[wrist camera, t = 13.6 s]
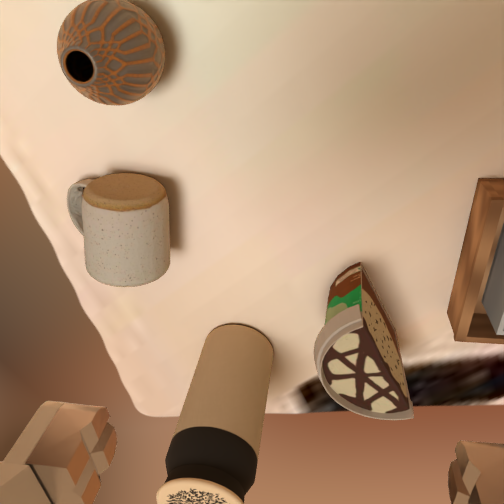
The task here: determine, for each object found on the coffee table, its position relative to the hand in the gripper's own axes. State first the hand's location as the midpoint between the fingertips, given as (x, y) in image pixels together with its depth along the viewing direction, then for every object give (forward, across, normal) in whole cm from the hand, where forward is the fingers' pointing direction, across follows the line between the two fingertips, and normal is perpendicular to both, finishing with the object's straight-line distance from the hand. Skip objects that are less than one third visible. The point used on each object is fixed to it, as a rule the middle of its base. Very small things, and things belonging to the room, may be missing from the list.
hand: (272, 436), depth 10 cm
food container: (+29, -4, +20) cm, 36 cm away
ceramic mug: (+29, +18, +9) cm, 36 cm away
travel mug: (+29, +8, +27) cm, 41 cm away
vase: (+29, +14, -5) cm, 33 cm away
